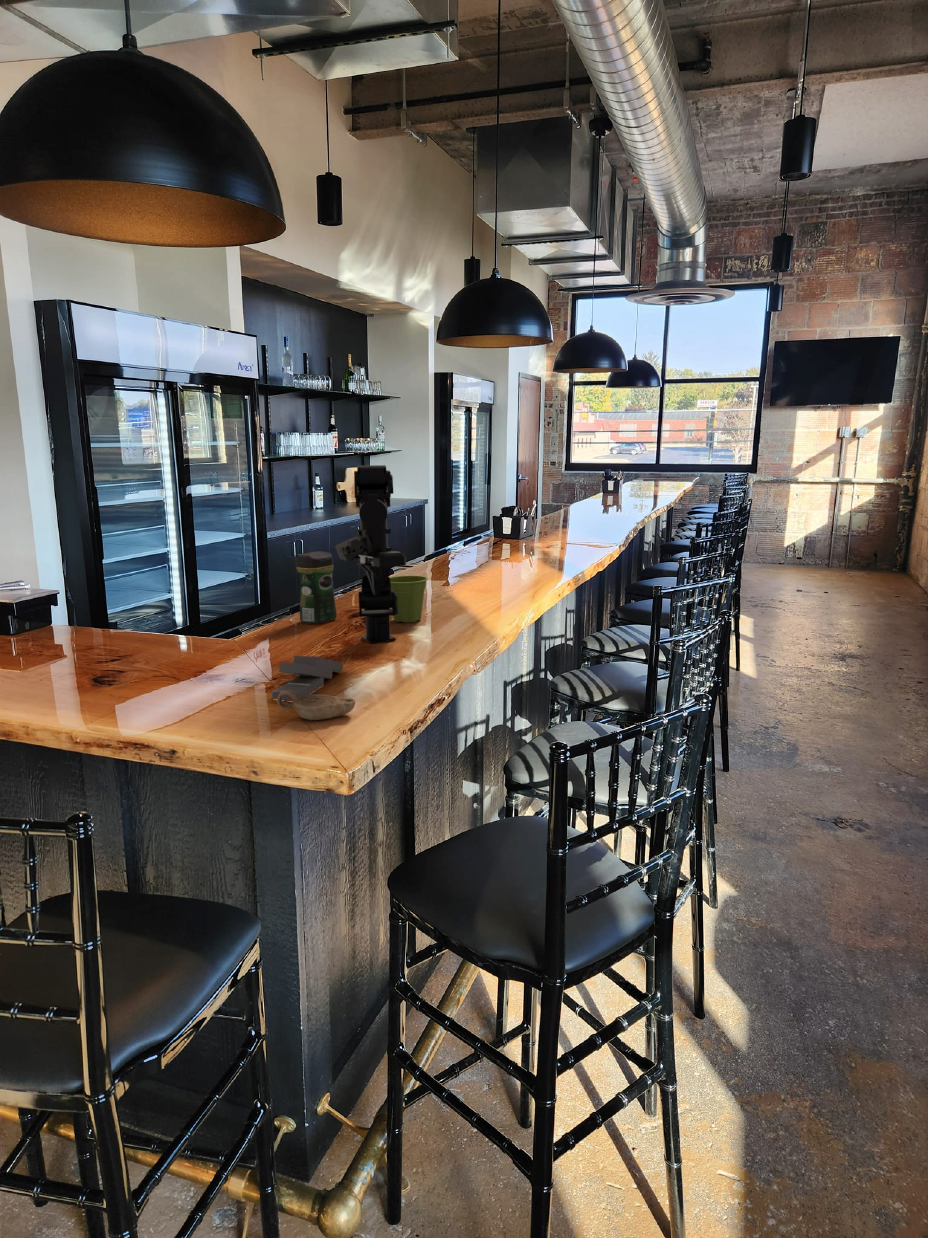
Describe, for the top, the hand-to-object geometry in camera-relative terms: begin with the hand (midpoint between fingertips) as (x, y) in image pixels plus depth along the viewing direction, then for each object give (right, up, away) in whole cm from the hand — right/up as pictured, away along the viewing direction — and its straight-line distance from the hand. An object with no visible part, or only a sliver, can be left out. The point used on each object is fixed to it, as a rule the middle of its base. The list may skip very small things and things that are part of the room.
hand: (376, 595), depth 174 cm
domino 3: (-8, -15, -12) cm, 21 cm away
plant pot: (+4, -6, +36) cm, 37 cm away
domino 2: (-10, -17, -21) cm, 29 cm away
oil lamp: (-6, -22, -39) cm, 46 cm away
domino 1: (-9, -16, -17) cm, 25 cm away
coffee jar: (-20, -6, +37) cm, 42 cm away
